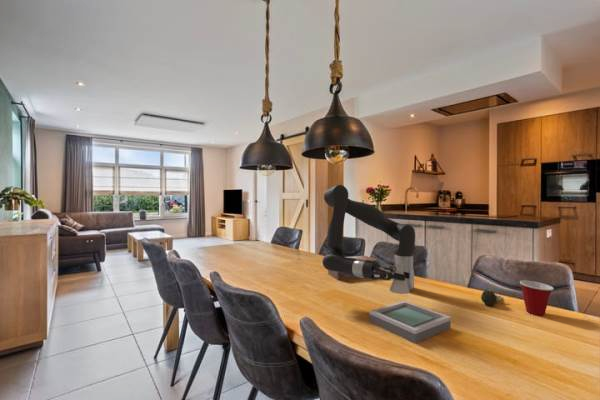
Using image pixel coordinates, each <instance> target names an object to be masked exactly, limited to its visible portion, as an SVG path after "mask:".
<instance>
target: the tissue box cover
mask: <svg viewBox="0 0 600 400" xmlns="http://www.w3.org/2000/svg"><path fill="white" fill-rule="evenodd" d="M346 257H347V258H356V259H365V260H371V261H377V262H378V261H379V260H378V259H376V258H373V257H370V256H367V255H358V256H356V255H355V256H346ZM378 263H379V262H378ZM327 274H328V275H329V276H331V277H332V278H334V279H335V280H336V281H344V280H345V281H346V280H354V279H355V280H357V279H362V278H361V277H358V276H354V275H350V274H346V273H343V272H337V271H331V270H327Z"/></svg>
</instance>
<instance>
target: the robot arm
mask: <svg viewBox="0 0 600 400" xmlns="http://www.w3.org/2000/svg"><path fill="white" fill-rule="evenodd" d="M323 199H324V201H325V203H326V204H327V205H328V206H330V207H331V208H333V210H332V215H331V219H330V221H329V224H328V228H327V234H326V236H327V237H326V248H327V249H329V250H330V253H329V254H326V255H325V256H324V257H323V259H322V266H323V267H324V269H326V270H327V271H328V270H331V271H337V272H343V273H346V274H350V275H354V276H358V277H361V278H360V279H367V280H371V281H377V280H384V281H391V280H392V281H393V280H394V279H396V280H401V281H405V280H406V283H407V286H408V288H409V292H410V291H413V290H414V288H415V270H414V252H415V248H416V231H415V228H414V227H413V226H412V225H411V224H406V223H400V222H397V221H395V220H392V219H389V218H388V217H387V216H386V215H385V214H384V212H382V211H381V210H380V209H378V208H377V207H375V206H373V205H371V204H368V203H365V202H360V201H357V200H353V199H349V190H348V189H347V187H346V186H344V185H342V184H336V185H334V186H332V187H330V188H329V189H327V190H326V191H324V194H323ZM346 214H347V215H349V216H352V217H353V218H355V219H357V220H358V221H360V222H362V223H364V224H366V225H369V226H370V227H372V228H374V229H377V230H379V231H381V232H383V233H385V234H386V235H387V236H389V237H390V238H392V239H394V240H395V241H398V247H395V248H394V250H393V266H391V265H389V266H385V265H383V266H381V264H380V263H379V262H377V261H371V260H365V259H356V258H347V257H348V256H345V253H344V249H343V235H344V233H343V232H344V223H345V219H346V217H345V216H346ZM396 264H402V265H404V267H403V272H404V274H398V273H395V272H396V266H395V265H396Z"/></svg>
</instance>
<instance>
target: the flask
mask: <svg viewBox="0 0 600 400" xmlns="http://www.w3.org/2000/svg"><path fill="white" fill-rule="evenodd" d="M395 266H396V272H395V273H398V274H404V272H403V267H404V265H402V264H396V265H395ZM389 292H391V293H393V294H394V293H395V294H400V295H402V294H403V295H404V294H406V295H407V294H409V293H410V291H409V288H408V286H407V283H406V280H405V281H401V280H396V279H394V280H392V282H391V285H390V288H389Z"/></svg>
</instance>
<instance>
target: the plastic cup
mask: <svg viewBox="0 0 600 400" xmlns="http://www.w3.org/2000/svg"><path fill="white" fill-rule="evenodd" d="M519 283H520V287H521V290H522V296H523V301H524V306H525V311H526V313H527V312H528V313H527V314H529V313H530V314H529V315H532V314H533V315H532V316H536V315H538V317H545V315H546V311H547V307H548V303H549V300H550V296H551V293H552V291H554V287H553V286H552V285H549V284H546V283H543V282H538V281H533V280H532V281H531V280H520V281H519Z"/></svg>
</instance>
